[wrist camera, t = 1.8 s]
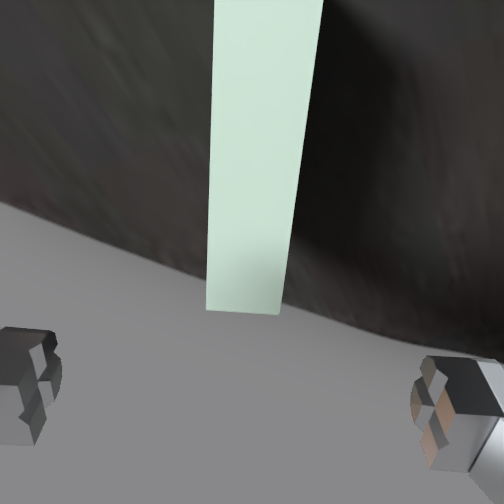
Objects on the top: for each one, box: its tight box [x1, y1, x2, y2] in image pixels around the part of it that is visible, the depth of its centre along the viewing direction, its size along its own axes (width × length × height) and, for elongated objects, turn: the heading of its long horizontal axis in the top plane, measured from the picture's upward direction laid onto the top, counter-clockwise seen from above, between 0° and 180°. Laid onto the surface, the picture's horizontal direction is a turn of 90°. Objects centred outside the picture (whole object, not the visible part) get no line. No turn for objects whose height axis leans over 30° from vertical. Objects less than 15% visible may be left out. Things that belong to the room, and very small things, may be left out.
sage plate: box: [206, 0, 323, 315], centre depth 24 cm, size 4×14×13 cm, turn 176°
